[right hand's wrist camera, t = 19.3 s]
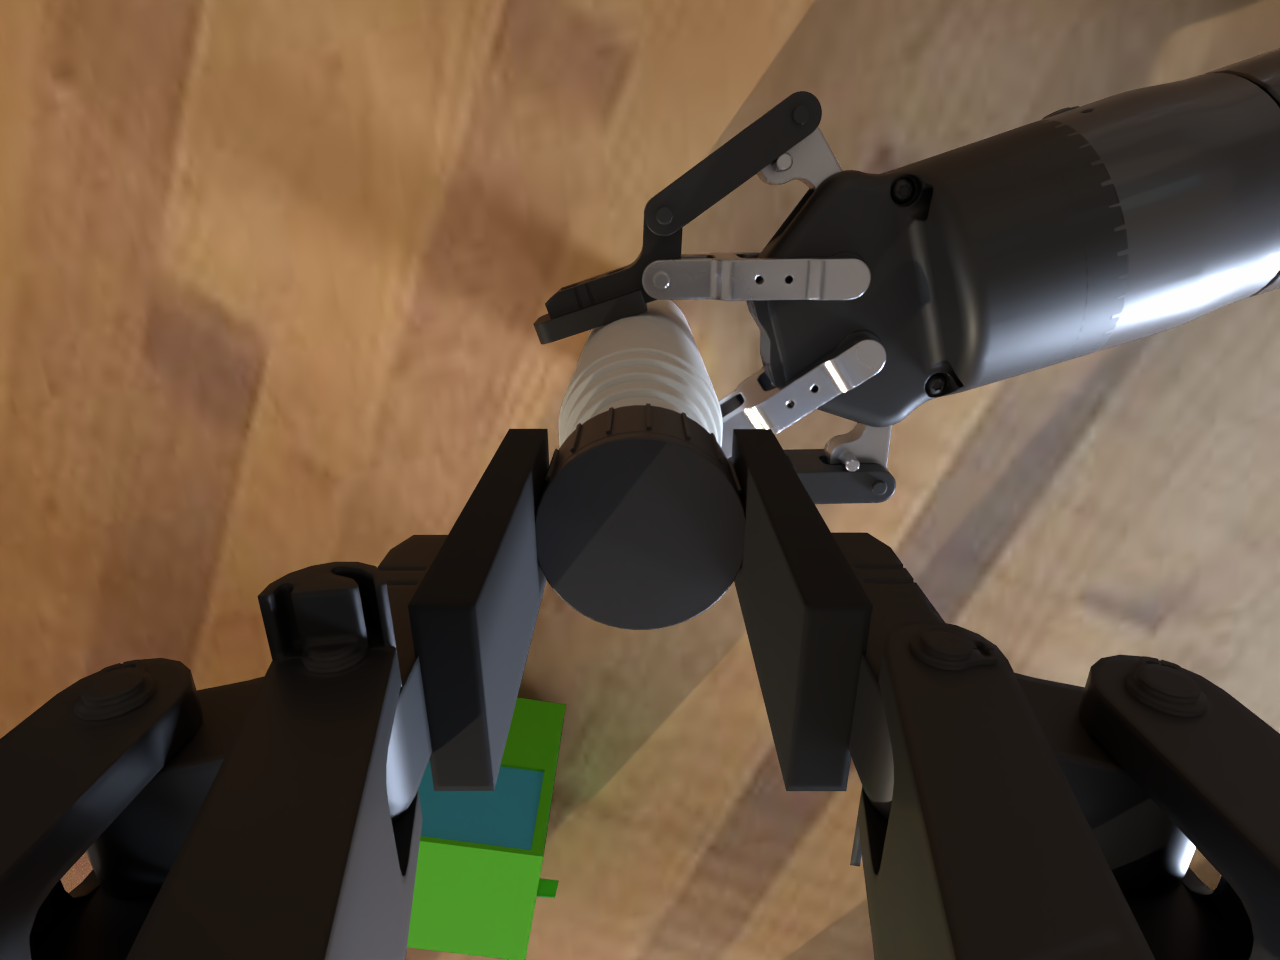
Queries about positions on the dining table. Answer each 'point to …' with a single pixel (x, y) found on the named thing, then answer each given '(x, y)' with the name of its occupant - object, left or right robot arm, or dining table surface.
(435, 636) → the right robot arm
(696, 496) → the cap
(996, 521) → the dining table surface
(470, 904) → the toy car
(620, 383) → the bottle
